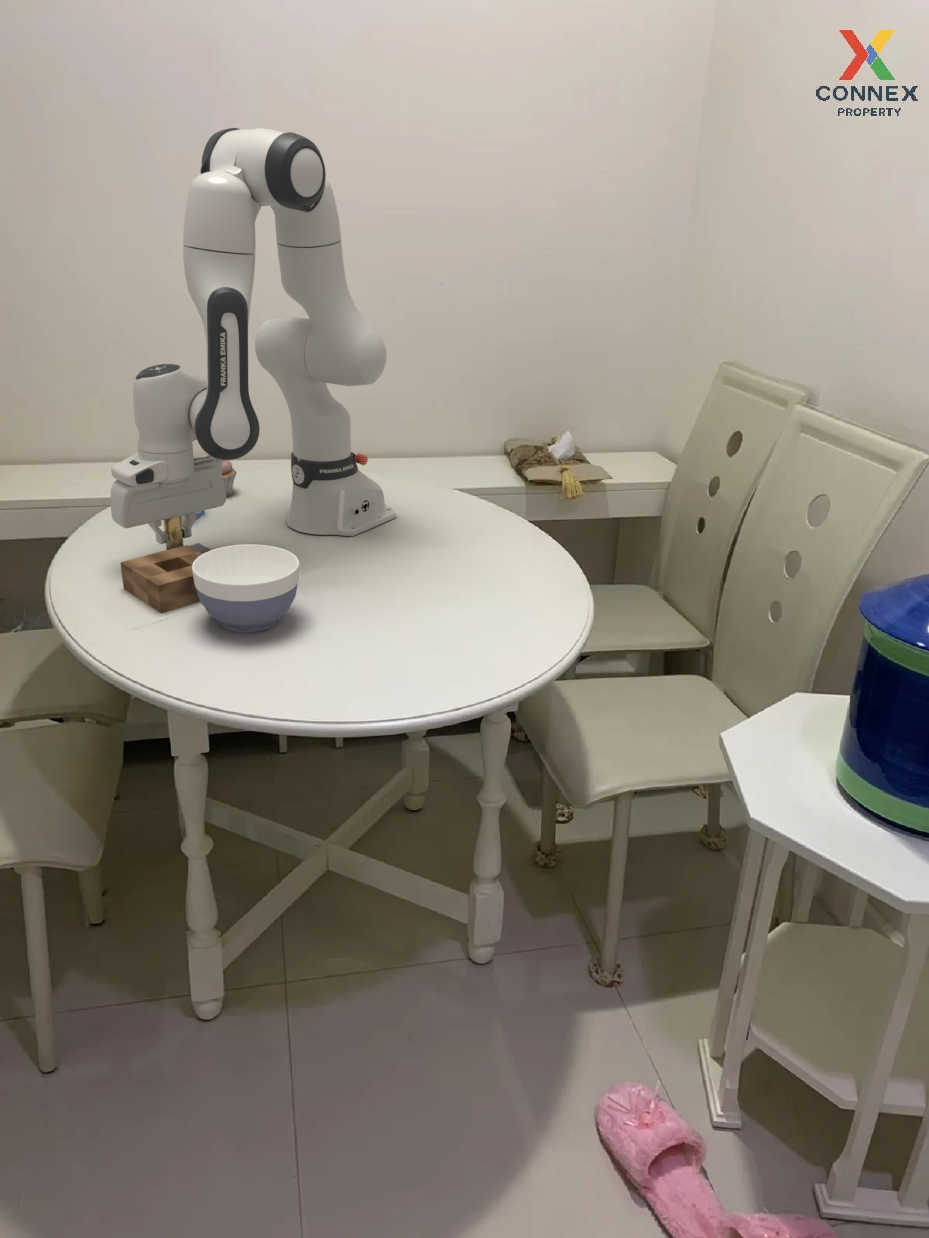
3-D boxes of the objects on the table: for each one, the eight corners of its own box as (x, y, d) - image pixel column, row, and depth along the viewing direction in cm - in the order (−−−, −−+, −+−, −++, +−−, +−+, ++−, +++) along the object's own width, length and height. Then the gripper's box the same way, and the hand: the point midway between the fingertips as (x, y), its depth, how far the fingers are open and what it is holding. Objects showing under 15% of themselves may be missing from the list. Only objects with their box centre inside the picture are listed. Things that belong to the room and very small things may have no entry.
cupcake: (193, 487, 200) (189, 442, 196) (237, 486, 202) (235, 441, 198) (192, 501, 192) (188, 455, 188) (238, 500, 194) (236, 454, 190)
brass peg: (179, 554, 166) (174, 501, 161) (188, 559, 164) (183, 505, 160) (163, 558, 164) (158, 504, 159) (172, 563, 162) (167, 509, 158)
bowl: (213, 595, 152) (208, 541, 148) (309, 601, 152) (308, 547, 147) (183, 640, 138) (177, 581, 133) (289, 646, 137) (287, 587, 133)
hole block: (189, 572, 160) (186, 545, 158) (227, 594, 152) (225, 566, 150) (123, 590, 152) (120, 562, 150) (161, 614, 145) (158, 585, 142)
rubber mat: (199, 544, 171) (198, 543, 171) (222, 557, 166) (222, 555, 166) (149, 557, 165) (149, 555, 164) (172, 571, 160) (172, 569, 160)
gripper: (210, 449, 165) (216, 522, 171) (101, 469, 152) (111, 547, 158) (230, 457, 161) (235, 531, 167) (120, 479, 148) (129, 558, 154)
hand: (174, 539), depth 162 cm, fingers open, 3 cm apart
